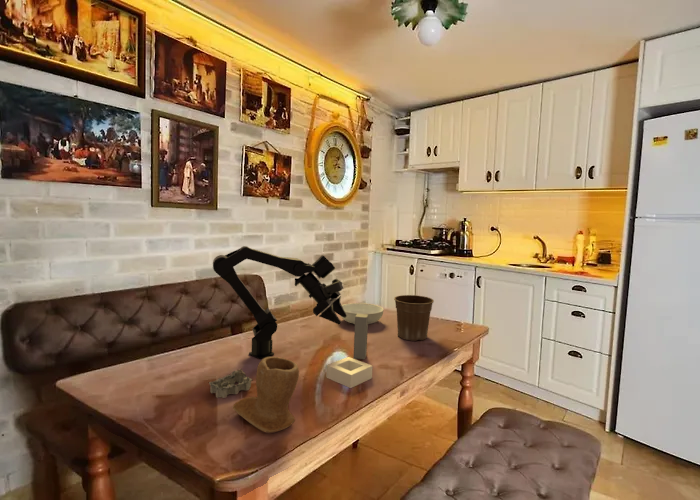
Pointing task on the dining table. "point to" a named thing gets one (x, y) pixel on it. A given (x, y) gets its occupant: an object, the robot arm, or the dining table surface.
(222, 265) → the robot arm
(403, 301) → the plant pot
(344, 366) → the collar
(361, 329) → the post
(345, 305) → the serving bowl
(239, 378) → the egg carton
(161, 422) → the dining table surface
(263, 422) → the tan boot
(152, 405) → the dining table surface
